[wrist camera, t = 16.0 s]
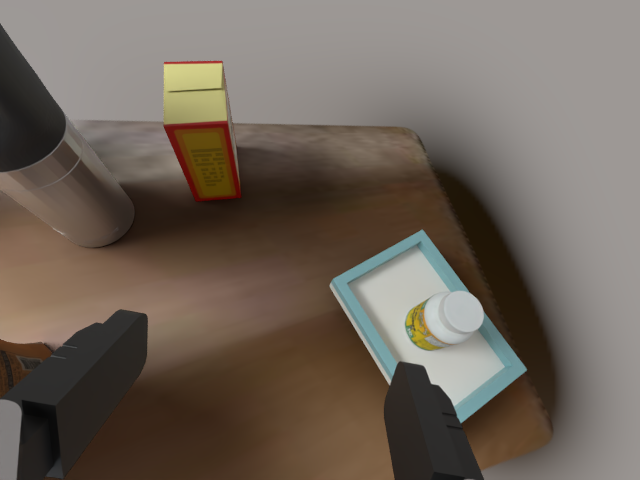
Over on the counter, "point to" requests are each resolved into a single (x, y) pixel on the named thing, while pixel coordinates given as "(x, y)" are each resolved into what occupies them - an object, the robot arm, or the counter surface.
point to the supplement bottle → (443, 320)
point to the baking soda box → (202, 128)
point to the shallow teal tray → (404, 294)
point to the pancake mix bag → (19, 362)
